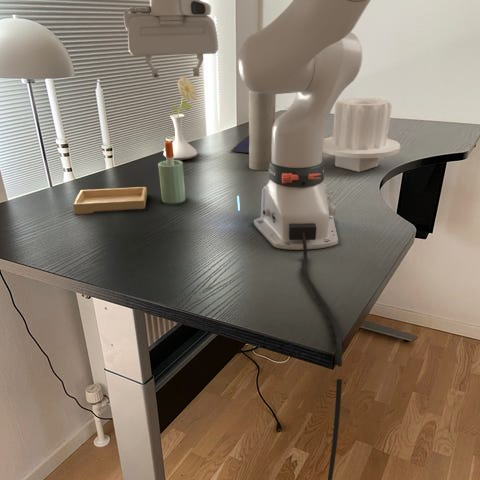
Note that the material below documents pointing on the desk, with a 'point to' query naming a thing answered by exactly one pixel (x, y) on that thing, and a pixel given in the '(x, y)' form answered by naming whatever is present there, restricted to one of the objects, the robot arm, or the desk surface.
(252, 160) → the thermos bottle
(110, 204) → the tray
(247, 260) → the desk surface
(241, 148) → the blue flat triangle
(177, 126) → the flower in vase
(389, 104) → the flanged gear
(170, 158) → the marker
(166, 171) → the pen cup
